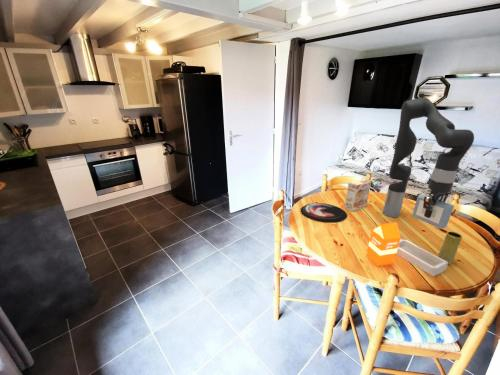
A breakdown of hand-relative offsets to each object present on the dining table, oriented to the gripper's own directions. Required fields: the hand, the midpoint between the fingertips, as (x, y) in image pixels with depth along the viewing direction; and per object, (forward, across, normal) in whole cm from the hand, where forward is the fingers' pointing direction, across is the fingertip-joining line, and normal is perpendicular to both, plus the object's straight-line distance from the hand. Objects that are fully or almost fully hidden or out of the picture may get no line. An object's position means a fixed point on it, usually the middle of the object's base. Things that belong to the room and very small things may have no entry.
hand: (430, 215), depth 101 cm
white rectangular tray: (+24, 0, 0) cm, 24 cm away
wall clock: (+25, +7, -56) cm, 61 cm away
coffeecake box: (+24, -18, -52) cm, 60 cm away
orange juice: (+24, +15, -8) cm, 30 cm away
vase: (+24, -12, +6) cm, 27 cm away
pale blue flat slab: (+3, 0, 0) cm, 3 cm away
